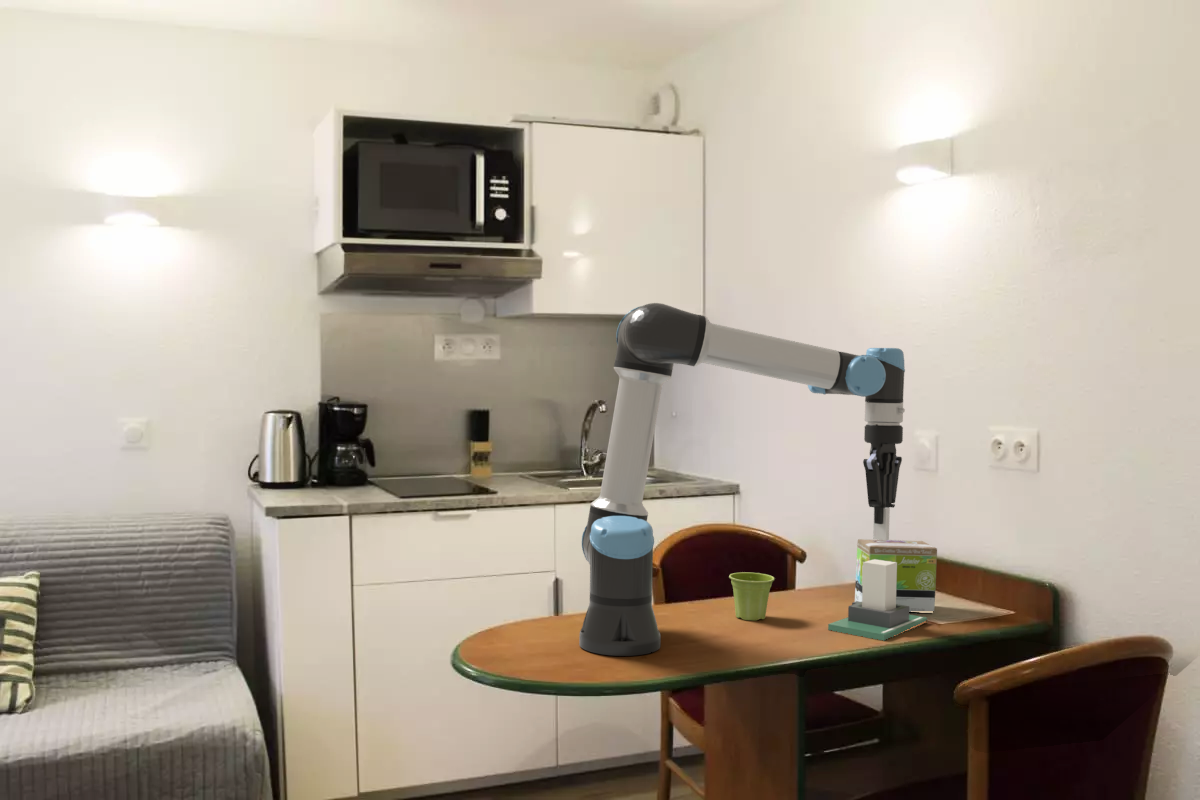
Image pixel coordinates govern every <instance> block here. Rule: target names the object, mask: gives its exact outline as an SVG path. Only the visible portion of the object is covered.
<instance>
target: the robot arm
mask: <svg viewBox="0 0 1200 800" xmlns="http://www.w3.org/2000/svg"><path fill="white" fill-rule="evenodd" d="M616 329H617V330H616V335H615V337H616V340H615V341H616V346H617V347H616V352H615V358H614V365H613V370H614V371H615V373H616V374H617V375H618V379H619V381H618V386H617V392H616V397H615V404H614V409H613V410H614V411H613V415H612V420H611V427H610V433H609V437H608V438H609V440H608V445H607V452H606V457H605V464H604V468H603V469H604V470H603V474H602V475H603V476H602V481H601V487H600V492H599V493H600V494H599V496H598V497H597V498H596V499H595V500H593V501H592V502H590V506H589V512H588V513H589V514H588V518H587V523H586V526H585V527H584V531H583V532H582V536H581V550H582V554H583V555H584V558H585V560H586V562H588V564H589V603H588V604H589V605H588V608H587V611H586V613H585V616H584V619H583V623H582V626H581V628H580V631H579V637H578V638H579V644H578V645H579V647H580V648H581V649H583V650H585V651H587V652H591V653H593V654H599V655H606V656H614V657H618V656H619V657H621V656H622V657H624V656H625V657H627V656H628V657H630V656H631V657H632V656H633V657H634V656H642V655H647V654H652V653H654V652H656V651H658V650H660V648H661V632H660V630H659V628H658V627H659V626H658V622H657V619H656V615H655V612H654V609H653V568H654V567H653V561H654V555H653V553H654V546H655V545H654V544H655V537H654V529H653V527H652V525H651V524H650V522H648V516H649V512H648V510H647V509H646V507H645V505H644V504H643V500H644V495H645V488H646V483H647V478H648V477H647V476H648V470H649V465H650V459H651V458H650V457H651V453H652V448H653V447H652V446H653V442H654V441H653V440H654V436H655V429H656V425H657V418H658V412H659V407H660V406H659V405H660V400H661V394H662V389H663V386H664V384H665V383H666V382H668V381H669V380H670V379H672V374H673V370H674V364H675V365H677V364H679V365H685V366H690V367H694V368H695V367H697V366H698V365H700V364H707V365H711V366H715V367H716V366H717V367H721V368H726V369H731V370H734V371H735V370H736V371H740V372H744V373H750V374H754V375H759V376H764V377H769V378H774V379H777V380H783V381H788V382H792V383H797V384H802V385H807V388H808V389H809V391H810V392H811V393H812V394H819V395H820V394H821V395H822V394H823V395H844V396H845V395H846V396H858V397H865V399H864V421H865V422H866V423H867V424H865V426H864V433H863V434H864V437H863V438H864V439H863V440H864V442H865V443H867V444H870V449H869V458H863V461H862V464H863V467H864V471H865V472H864V473H865V478H866V479H865V481H866V491H867V492H866V493H867V502H868V503H867V504H868V506H869V508H873V536H872V537H873V539H872V540H885V541H886V540H890V511H891V510H890V508H891V509H892V508H895V507H896V504H895V503H896V498H897V491H898V482H899V476H900V475H899V474H900V468H901V464H902V461H903V458H902V456H897V446H896V445H900V444H902V443H903V441H904V440H903V439H904V436H903V435H904V432H903V431H904V427H903V426H902V425H900V423H903V421H904V413H905V410H906V409H905V407H904V389H905V386H904V385H905V372H906V369H905V355H904V352H903V350H902V349H900V348H897V347H869V348H867V349H866V351H865V353H866V354H861V355H858V354H854V353H848V352H845V351H839V350H836V349H831V348H826V347H823V346H818V345H813V344H809V343H808V344H807V343H803V342H798V341H795V340H794V341H793V340H789V339H785V338H780V337H776V336H772V335H767V334H763V333H762V334H761V333H758V332H753V331H748V330H745V329H740V328H734V327H730V326H725V325H721V324H716V323H712V322H710V320H709V319H708V317H707V316H705V315H701V314H696V313H692V312H690V311H689V312H688V311H686V310H683V309H680V308H677V307H674V306H671V305H668V304H665V303H658V302H651V303H646V304H644V305H641V306H637V307H635V308H632V309H631V310H630V311H628V312H627V313H626V314H625V315H624V316H623V317H622V319H621V320H620V322H619V324H618V327H617V328H616ZM651 652H652V653H651Z"/></svg>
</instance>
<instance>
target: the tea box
mask: <svg viewBox="0 0 1200 800" xmlns="http://www.w3.org/2000/svg"><path fill="white" fill-rule="evenodd" d="M856 545H857V548H856V567H855V588H854V602H856V601H858V602H862V588H863V585H862V566H863V562H866V561H870V560H873V559H876V560H883V561H890V562H897V583H896V604H899V605H905V606H909V612H911V611H934V612H935V607H936V606H935V604H936V583H937V580H936V579H937V562H938V561H937V560H938V548H936V547H935V546H933V545H931V544H929V543H927V542H925V541H923V540H903V539H902V540H899V539H898V540H897V539H889V540H886V541H885V540H877V539H867V538H861V539H860V538H859V539H857V544H856Z"/></svg>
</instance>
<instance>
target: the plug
mask: <svg viewBox="0 0 1200 800" xmlns="http://www.w3.org/2000/svg"><path fill="white" fill-rule="evenodd" d="M896 583H897V562H890V561H883V560H876V559H873V560H870V561H866V562H863V566H862V585H863V588H862V607H864V608H870V609H876V610H882V611H889V610H892V609H895V608H896Z"/></svg>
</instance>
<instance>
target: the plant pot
mask: <svg viewBox="0 0 1200 800" xmlns="http://www.w3.org/2000/svg"><path fill="white" fill-rule="evenodd" d="M728 578H729V579H730V580H731V581H730V582H731V585H732V589H733V590H732V591H733V600H734V601H733V602H734V611H735V617H736V618H737V619H742V620H744V621H753V622H754V621H758V620H765V618H766V615H767V608H768V601H769V596H770V590H771V588H772V584H773V582H774V581H775V577H774V576H772V575H770V574H766V573H760V572H745V571H744V572H743V571H742V572H734V573H730V574H729V576H728Z"/></svg>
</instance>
